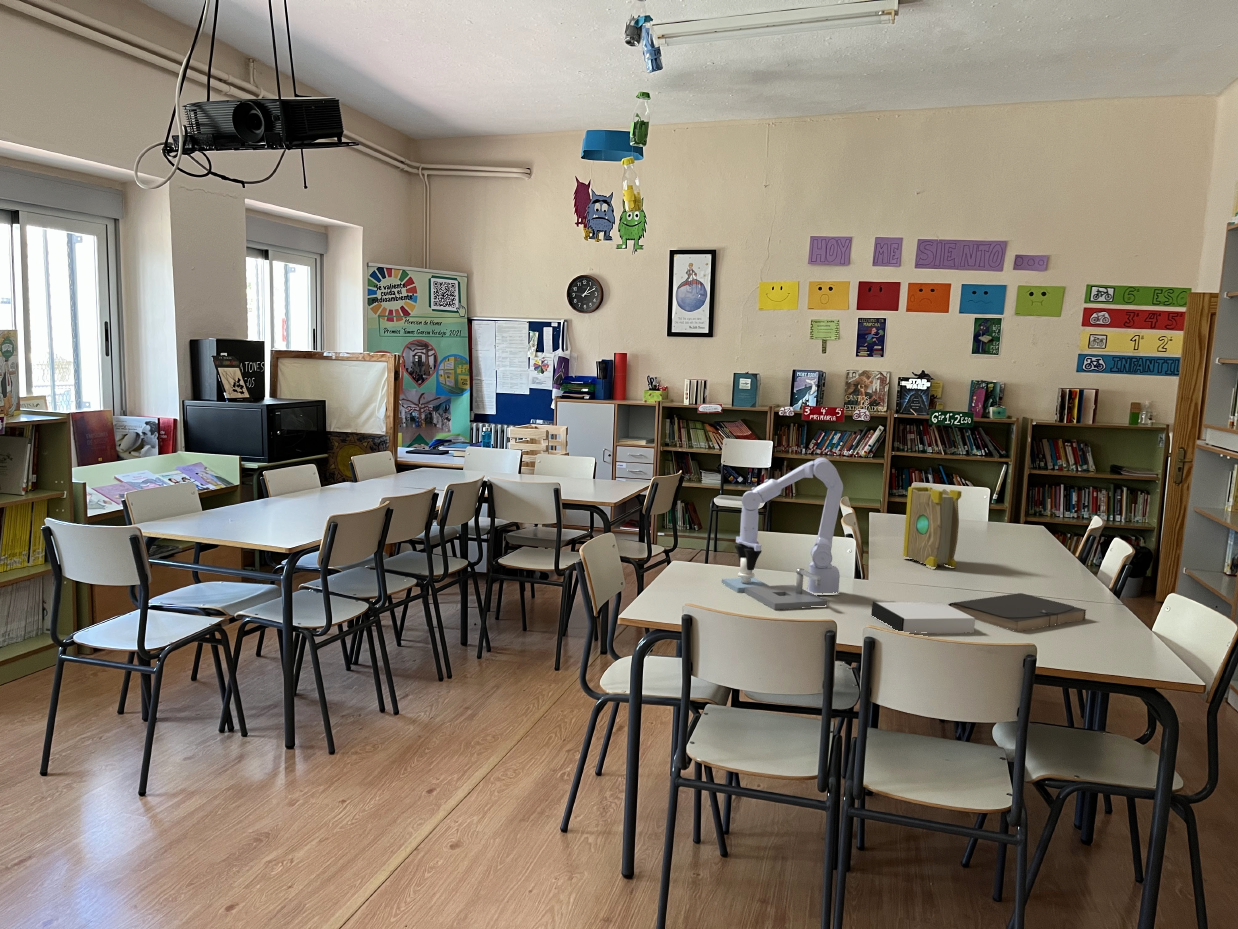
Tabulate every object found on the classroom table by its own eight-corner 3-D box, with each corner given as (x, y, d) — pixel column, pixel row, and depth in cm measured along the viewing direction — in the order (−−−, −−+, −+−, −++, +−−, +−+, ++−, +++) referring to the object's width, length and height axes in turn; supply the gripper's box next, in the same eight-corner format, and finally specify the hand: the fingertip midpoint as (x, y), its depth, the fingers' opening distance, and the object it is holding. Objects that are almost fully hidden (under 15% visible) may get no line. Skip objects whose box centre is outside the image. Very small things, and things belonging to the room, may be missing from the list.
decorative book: (900, 558, 335) (906, 484, 332) (923, 558, 338) (929, 484, 335) (933, 570, 316) (940, 491, 313) (957, 569, 319) (964, 491, 316)
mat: (753, 582, 286) (753, 577, 286) (770, 590, 274) (770, 586, 274) (721, 583, 282) (721, 578, 282) (737, 592, 271) (737, 587, 271)
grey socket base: (793, 590, 276) (795, 565, 275) (826, 607, 257) (828, 580, 256) (744, 592, 270) (745, 567, 270) (774, 610, 251) (776, 582, 251)
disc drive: (870, 617, 249) (871, 601, 249) (940, 617, 253) (941, 600, 253) (900, 635, 232) (901, 618, 232) (974, 634, 236) (975, 617, 236)
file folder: (1018, 620, 238) (947, 600, 259) (1017, 634, 238) (946, 613, 259) (1087, 608, 254) (1016, 590, 275) (1086, 622, 254) (1015, 603, 275)
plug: (749, 580, 281) (750, 556, 281) (756, 583, 276) (757, 559, 276) (734, 581, 280) (735, 557, 279) (741, 584, 275) (742, 560, 274)
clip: (794, 576, 265) (795, 568, 265) (801, 576, 266) (801, 568, 266) (815, 586, 254) (815, 577, 254) (822, 585, 255) (822, 577, 255)
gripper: (728, 523, 282) (726, 563, 283) (748, 531, 268) (745, 573, 269) (747, 523, 284) (745, 562, 285) (767, 531, 270) (765, 572, 272)
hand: (746, 568), depth 278 cm, fingers open, 5 cm apart
